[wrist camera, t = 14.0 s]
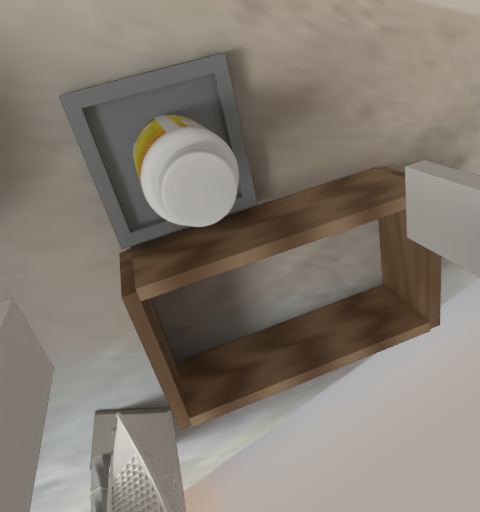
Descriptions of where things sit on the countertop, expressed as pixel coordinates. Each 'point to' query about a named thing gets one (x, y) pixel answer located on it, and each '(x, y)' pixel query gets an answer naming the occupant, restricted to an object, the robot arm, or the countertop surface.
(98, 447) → the skyscraper
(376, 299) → the frame
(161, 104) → the tray
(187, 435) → the countertop surface
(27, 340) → the robot arm
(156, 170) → the supplement bottle
